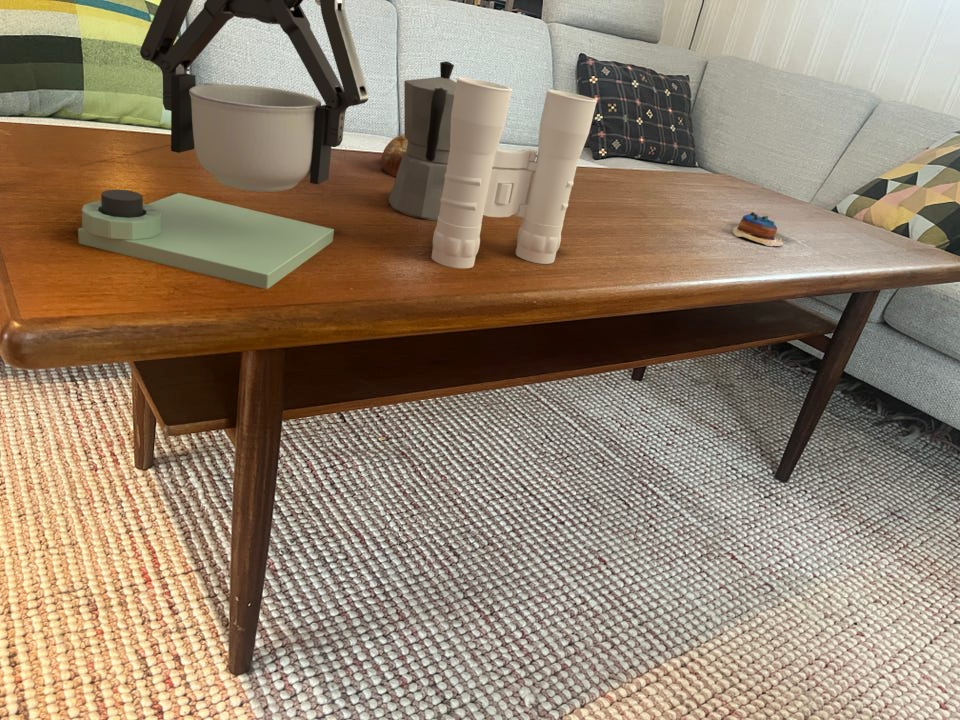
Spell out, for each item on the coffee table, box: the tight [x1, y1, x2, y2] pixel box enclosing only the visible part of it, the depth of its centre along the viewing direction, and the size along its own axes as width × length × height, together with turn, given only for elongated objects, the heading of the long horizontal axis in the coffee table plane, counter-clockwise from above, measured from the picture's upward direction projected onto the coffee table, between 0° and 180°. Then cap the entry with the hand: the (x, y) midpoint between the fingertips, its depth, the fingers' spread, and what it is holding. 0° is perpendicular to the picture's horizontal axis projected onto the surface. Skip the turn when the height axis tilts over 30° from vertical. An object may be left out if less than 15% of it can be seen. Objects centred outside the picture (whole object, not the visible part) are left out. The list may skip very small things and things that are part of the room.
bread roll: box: [381, 133, 408, 177], centre depth 110 cm, size 10×10×8 cm
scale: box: [77, 192, 335, 290], centre depth 68 cm, size 18×16×3 cm
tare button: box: [100, 189, 144, 218], centre depth 63 cm, size 3×3×2 cm
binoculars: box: [431, 77, 598, 269], centre depth 77 cm, size 17×5×18 cm, turn 127°
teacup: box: [189, 82, 322, 193], centre depth 65 cm, size 14×11×8 cm
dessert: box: [732, 211, 784, 247], centre depth 116 cm, size 8×7×6 cm
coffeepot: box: [388, 61, 457, 222], centre depth 89 cm, size 15×9×18 cm, turn 179°
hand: (250, 165), depth 66 cm, fingers closed on teacup, 12 cm apart
